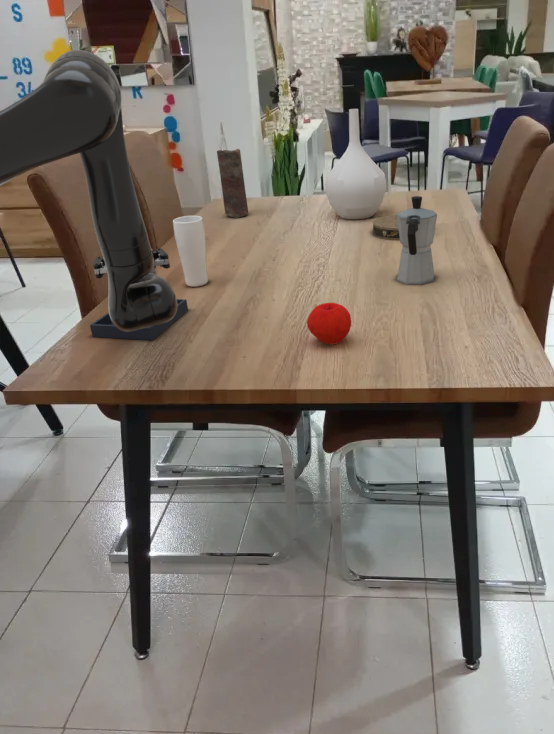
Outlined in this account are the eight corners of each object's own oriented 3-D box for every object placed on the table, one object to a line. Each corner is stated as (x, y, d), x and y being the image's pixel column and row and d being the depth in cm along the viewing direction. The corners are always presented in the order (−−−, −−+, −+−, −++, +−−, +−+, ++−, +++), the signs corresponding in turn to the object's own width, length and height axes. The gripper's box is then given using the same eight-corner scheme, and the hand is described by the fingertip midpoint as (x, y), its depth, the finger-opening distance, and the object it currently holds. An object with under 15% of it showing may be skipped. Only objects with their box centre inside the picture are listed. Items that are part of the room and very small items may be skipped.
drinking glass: (180, 289, 159) (170, 223, 151) (184, 280, 165) (174, 216, 157) (210, 287, 159) (200, 221, 151) (212, 278, 165) (204, 214, 157)
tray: (152, 340, 133) (150, 328, 132) (92, 336, 136) (89, 324, 135) (188, 310, 146) (186, 299, 145) (132, 307, 150) (130, 296, 148)
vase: (381, 207, 219) (380, 104, 205) (391, 220, 204) (390, 110, 189) (324, 211, 219) (319, 108, 204) (329, 225, 203) (324, 114, 188)
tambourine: (441, 234, 188) (441, 223, 186) (388, 242, 183) (388, 231, 182) (413, 222, 201) (413, 211, 199) (363, 230, 196) (363, 219, 195)
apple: (302, 348, 125) (299, 310, 122) (317, 332, 132) (315, 295, 128) (344, 352, 123) (342, 313, 119) (357, 335, 129) (356, 298, 126)
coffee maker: (400, 269, 163) (401, 190, 154) (438, 270, 160) (440, 190, 152) (390, 290, 150) (389, 205, 141) (430, 291, 148) (432, 205, 139)
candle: (220, 216, 220) (211, 150, 210) (236, 211, 225) (229, 146, 215) (236, 219, 216) (229, 151, 206) (253, 214, 221) (246, 147, 211)
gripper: (172, 249, 122) (162, 229, 136) (88, 261, 119) (86, 238, 133) (179, 290, 126) (168, 266, 140) (98, 302, 122) (95, 276, 136)
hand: (128, 253), depth 136 cm, fingers closed on cup, 6 cm apart
